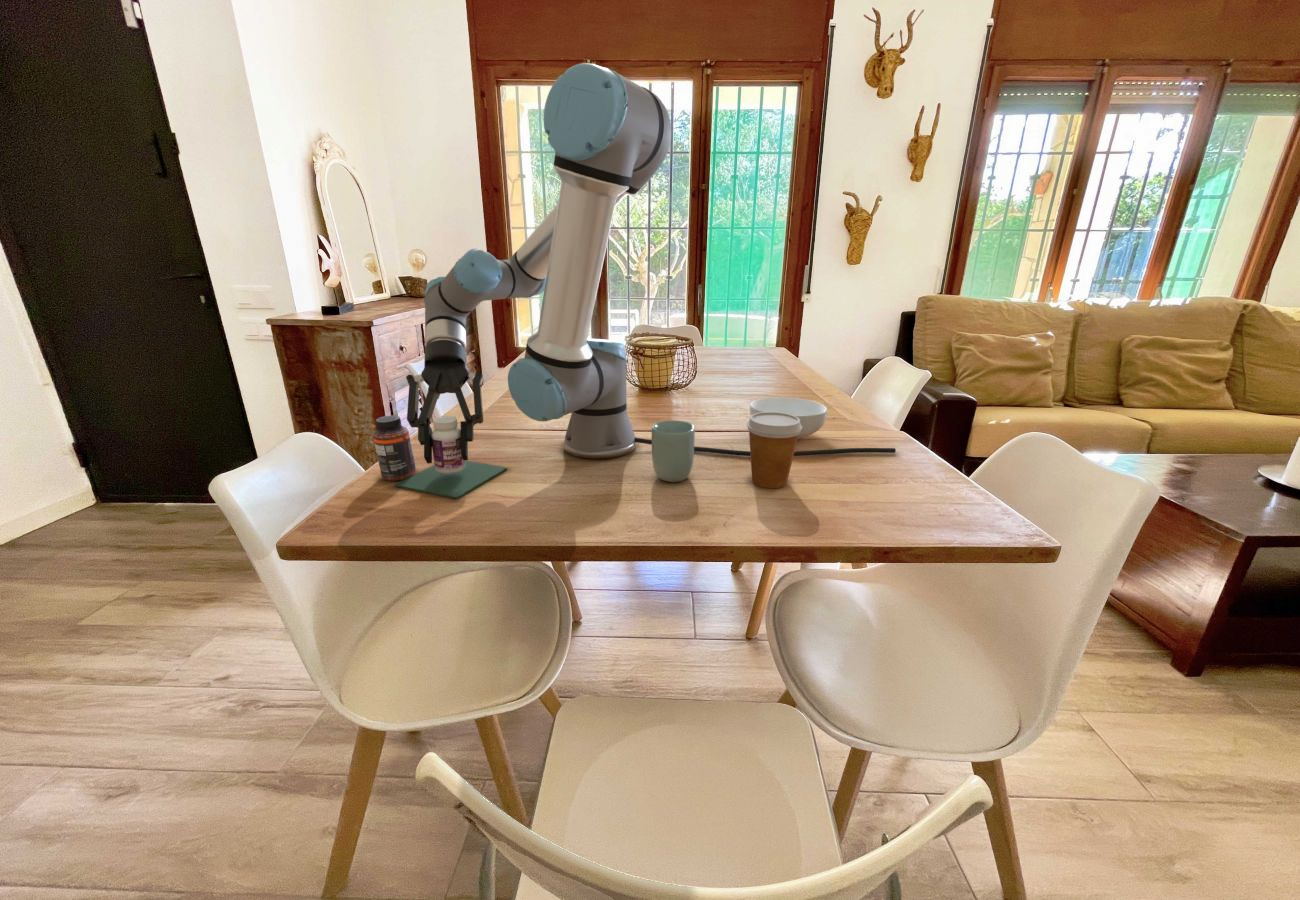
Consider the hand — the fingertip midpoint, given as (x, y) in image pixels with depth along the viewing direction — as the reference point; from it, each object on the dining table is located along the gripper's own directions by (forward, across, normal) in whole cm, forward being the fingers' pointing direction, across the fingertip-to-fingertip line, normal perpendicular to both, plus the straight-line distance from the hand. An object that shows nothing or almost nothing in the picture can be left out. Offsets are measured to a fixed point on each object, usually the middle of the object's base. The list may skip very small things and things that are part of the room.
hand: (446, 458), depth 91 cm
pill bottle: (0, 0, -5) cm, 5 cm away
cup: (+8, -40, 0) cm, 41 cm away
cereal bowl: (-5, -72, -12) cm, 73 cm away
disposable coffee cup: (+12, -56, +4) cm, 58 cm away
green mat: (+1, 0, -6) cm, 6 cm away
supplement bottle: (-1, +10, -9) cm, 13 cm away
